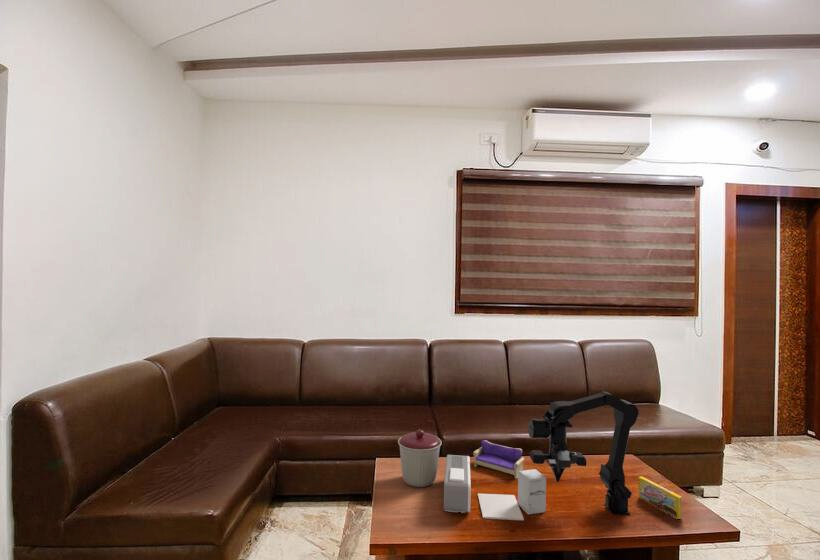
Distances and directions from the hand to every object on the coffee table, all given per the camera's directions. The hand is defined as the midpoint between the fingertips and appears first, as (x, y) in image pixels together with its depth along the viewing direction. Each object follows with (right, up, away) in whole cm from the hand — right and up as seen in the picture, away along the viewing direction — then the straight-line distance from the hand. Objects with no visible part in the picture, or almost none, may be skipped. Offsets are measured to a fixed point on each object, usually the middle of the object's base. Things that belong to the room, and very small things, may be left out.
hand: (557, 481), depth 147 cm
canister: (-50, -10, +19) cm, 54 cm away
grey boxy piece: (-35, -10, +8) cm, 38 cm away
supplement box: (-9, -10, 0) cm, 14 cm away
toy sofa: (-15, -11, +32) cm, 37 cm away
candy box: (+39, -11, +2) cm, 40 cm away
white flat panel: (-21, -10, +1) cm, 23 cm away
